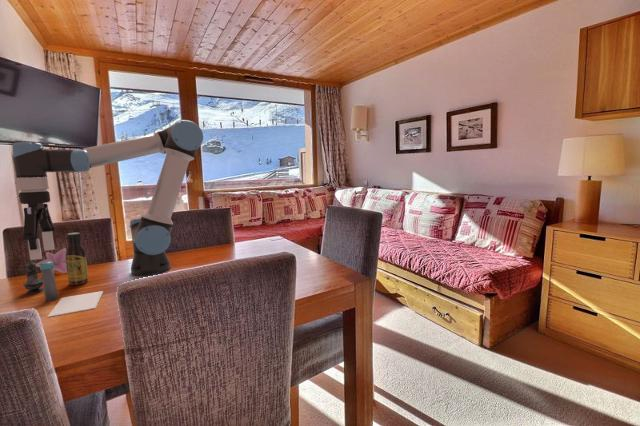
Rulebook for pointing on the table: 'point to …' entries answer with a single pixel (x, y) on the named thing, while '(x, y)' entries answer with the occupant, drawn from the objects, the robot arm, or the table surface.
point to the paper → (76, 303)
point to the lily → (57, 260)
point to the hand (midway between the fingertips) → (43, 254)
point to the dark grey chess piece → (32, 279)
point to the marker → (48, 281)
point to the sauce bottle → (76, 260)
